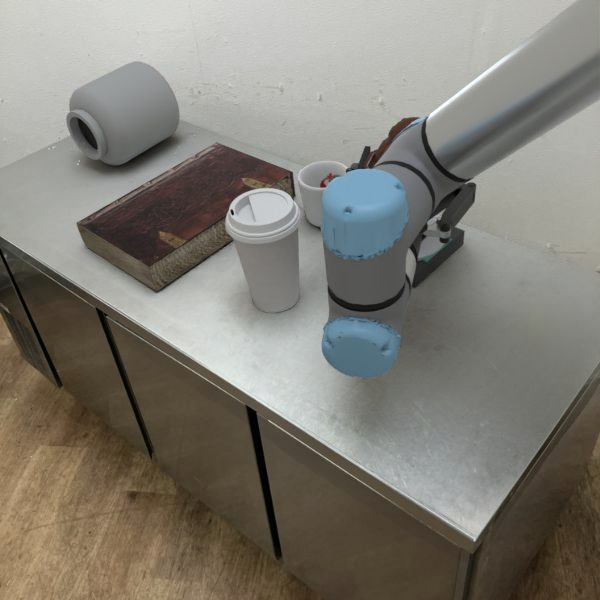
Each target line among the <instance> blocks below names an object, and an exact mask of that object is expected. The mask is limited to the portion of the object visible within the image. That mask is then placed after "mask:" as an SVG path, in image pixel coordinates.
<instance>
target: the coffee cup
mask: <svg viewBox="0 0 600 600" xmlns="http://www.w3.org/2000/svg"><path fill="white" fill-rule="evenodd" d="M302 218H303V216H302V212H301V209H300V207H299V206H298V203H296V201H295V200H293V198H291V196H290V195H289V194H287V193H286V192H284V191H281V190H278V189H273V188H261V189H255V190H251V191H248V192H246V193H243V194H242V195H240V196H238V197H237V198H236V199H235V200H234V201H233V202H232V203H231V205H230V207H229V211H228V213H227V216H226V221H225V228H226V231H227V232H228V234H229V235H230V236H231V237H232V238H233V243H234V247H235V250H236V253H237V255H238V258H239V259H238V260H239V262H240V265H241V269H242V272H243V274H244V278H245V280H246V281H245V282H246V284H247V287H248V291H249V293H250V296H251V300H252V302H253V305H254V306H255V308H257V309H258V310H260V311H262V312H265V313H271V314H276V313H282V312H286V311H288V310H289V309H291V308H293V307H294V306H295V305H296V304H297V303H298V302H299V300H300V294H301V293H300V290H301V288H300V251H299V250H300V248H299V247H300V246H299V242H300V241H299V226H300V225H301V223H302Z"/></svg>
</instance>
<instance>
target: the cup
mask: <svg viewBox="0 0 600 600" xmlns="http://www.w3.org/2000/svg"><path fill="white" fill-rule="evenodd" d="M347 168H348V166H347V165H345V164H343V163H341V162H338V161H333V160H321V161H320V160H319V161H315V162H312V163H308V164H307V165H305V166H304V167H302V168H301V169H300V170H299V172H298V173H297V176H296V180H297V186H298V189H299V195H300V198H301V202H302V207H303V210H304V214H305V217H306V219H307V221H308V222H309V223H310V224H311V225H313V226H314V227H317V228H321V226H320V225H321V224H322V222H321V217H322V195H323V192H324V190H325V188H326V187H327V185H328V184H329V183H330V182H331V181H332V180H331V177H332V176H333V175H340V176H341V177H343V176H345V174H346V169H347Z"/></svg>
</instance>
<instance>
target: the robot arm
mask: <svg viewBox="0 0 600 600" xmlns="http://www.w3.org/2000/svg"><path fill="white" fill-rule="evenodd" d="M599 101H600V0H576V1H574V2H573V3H571V4H570V5H569V6H568V7H566V8H565V9H564V10H563V11H562V12H560V13H559V14H557V15H556V16H555V17H554V18H552V19H550V21H548V22H547V23H546V24H544V25H543V26H542V27H541V28H539V29H538V30H536V31H535V32H534V33H533V34H531V35H530V36H529V37H528V38H526V39H525V40H524V41H523V42H521V43H520V44H519V45H517V46H516V47H515V48H513V49H512V50H510V52H508V53H507V54H506V55H504V56H503V57H502V58H501V59H499V60H498V61H497V62H496V63H494V64H492V65H491V66H490V67H489V68H488V69H487V70H485V71H484V72H482V73H481V74H480V75H478V77H476V78H475V79H473V80H472V81H471V82H470V83H468V84H467V85H466V86H464V87H463V88H462V89H461V90H459V91H457V93H455V94H454V95H453V96H452V97H450V98H449V99H447V101H445V102H443V103H442V104H441V105H440V106H438V107H437V108H436V109H435V110H433V111H432V112H431V113H429V115H428V116H424V117H419V119H417V120H415V121H413V122H412V123H411V124H410V125H409V126H407V127H406V128H405V129H404V130H402V131H401V132H400V133H399V134H398V135H397V136H396V137H395V138H394V140H393V141H392V144H391V145H390V147H389V148H388V149H387V151H386V152H385V153H384V154H383V156H382V157H381V158H380V159H379V161H378V162H377V163H376V164H375V166H374V167H373V168H372V169H364V167H363V165H364V163H365V161H366V159H367V158H368V156H369V154H370V152H372V151H371V146H370V145H364V148H363V150H362V153H361V156H360V157H359V158H360V159H359V162H353V163H352V164H351V165H350V167H347V169H346V174H345V176H343V177H341V176H340V175H333V176H332V177H331V180H332V181H331V182H330V183H329V184H328V185H327V187H326V188H325V190H324V192H323V195H322V217H321V222H322V224H321V225H320V226H321V227H320V230H321V232H320V234H321V239H322V245H323V255H324V264H325V273H326V282H327V285H326V286H327V300H328V301H327V302H328V318H327V322H325V324H324V325H323V328H322V329H323V333H322V334H323V335H322V340H321V344H320V347H321V353H322V355H323V358H324V359H325V361H326V362H327V363H328V364H329V366H330V367H332V369H334V370H335V371H336V372H339V373H340V374H343V375H345V376H348V377H351V378H356V377H357V378H360V379H363V380H365V379H366V380H368V379H376V378H379V377H382V376H384V375H385V374H387V373H388V372H389V371H391V370H392V369H393V367H394V365H395V363H396V361H397V357H398V354H399V351H400V348H401V347H402V345H403V344H402V343H403V340H402V337H403V332H404V328H405V327H404V326H405V321H406V316H407V311H408V305H409V301H410V300H409V299H410V296H411V293H412V288H413V287H412V283H413V278H414V274H415V269H416V264H417V260H418V255H419V251H420V246H421V242H422V241H423V240H424V239H425V238H426V237H427V236H430V237H439V241H440V242H441V243H448V242H449V241H450V235H451V231H452V230H453V229H454V228H455V227H457V225H458V224H459V222H460V221H461V220H462V219H463V218H464V216H465V215H466V214H467V212H468V211H469V210H470V209H471V208H472V206H473V205H474V204H475V201H476V193H477V184H476V183H475V182H472V180H473V179H475V178H476V177H477V176H479V175H480V174H482V173H484V172H485V171H487V170H488V169H490V168H491V167H493V166H495V165H497V164H498V163H500V162H502V161H503V160H504V159H506V158H508V157H510V156H511V155H513V154H514V153H516V152H518V151H520V150H521V149H522V148H524V147H526V146H527V145H529V144H531V143H532V142H534V141H536V140H537V139H539V138H540V137H542V136H543V135H545V134H547V133H548V132H550V131H552V130H554V129H555V128H556V127H558V126H560V125H561V124H563V123H564V122H566V121H568V120H570V119H571V118H573V117H574V116H576V115H578V114H579V113H581V112H582V111H584V110H586V109H587V108H589V107H590V106H593V105H594V104H595V103H597V102H599ZM441 212H442V214H441V216H438V215H439V214H440V213H441ZM436 216H437V217H436ZM433 217H436V218H437V221H435V222H434V223H433V224H432V225H427V222H428V221H429V220H430V219H432V218H433Z"/></svg>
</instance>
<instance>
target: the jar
mask: <svg viewBox="0 0 600 600" xmlns="http://www.w3.org/2000/svg"><path fill="white" fill-rule="evenodd" d="M68 107H69V111H68V110H66V113H67V115H66V119H65V121H66V126H67V130H68V132H69V134H70V137H71V139H72V140H73V142H74V144H75V145H76V146H77V148H78V149H79V150H80V152H82V153H83V154H84V155H85V156H86V157H88V158H89V159H91V160H94V161H98V160H100V161H101V162H102V163H104V164H107V165H109V166H116V167H117V166H121V165H124V164H126V163H128V162H129V161H131V160H132V159H134V158H137V156H140V155H141V154H142V153H144V152H146V151H147V150H149V149H152V148H153V147H154V146H156V145H158V144H159V143H162V142H163V141H165V140H166V139H168V138H169V137H171V136H172V135H174V133H175V132H176V131H177V129H178V127H179V123H180V119H181V116H180V115H181V114H180V108H179V103H178V100H177V97H176V95H175V92H174V90H173V89H172V87H171V85H170V83H169V82H168V81H167V79H166V78H165V76H164V75H163V74H162V73H160V71H159V70H157V69H156V68H155V67H154V66H152V65H151V64H149V63H146V62H142V61H135V60H134V61H132V62H128V63H126V64H124V65H121V66H120V67H118V68H115V69H114V70H112V71H109V72H108V73H106V74H104V75H102V76H100V77H97V78H95V79H94V80H91V81H89V82H88V83H85V84H83V85H82V86H79V87H78V88H76V89H75V90H73V92H72V93H71V96H70V98H69V102H68ZM61 110H62V111H63V110H64V107H62V108H61ZM62 126H65V123H62ZM63 131H64V129H63V128H61V130H59V131H58V133H59V134H62V132H63ZM195 137H196V135H193V138H195ZM56 139H58V140H59V139H61V136H59V135H58V136H57V138H56ZM186 141H187V142H189V139H187V140H186ZM178 148H179V149H180V148H181V146H180V145H179V146H178ZM52 150H56V146H52ZM47 151H48V152H49V151H51V148H49V147H48V148H47ZM69 151H70V152H71V151H72V148H70V149H69ZM174 155H177V152H174ZM78 162H79V163H78ZM78 162H77V163H76V166H80V162H81V160H80V159H79V160H78Z"/></svg>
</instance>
